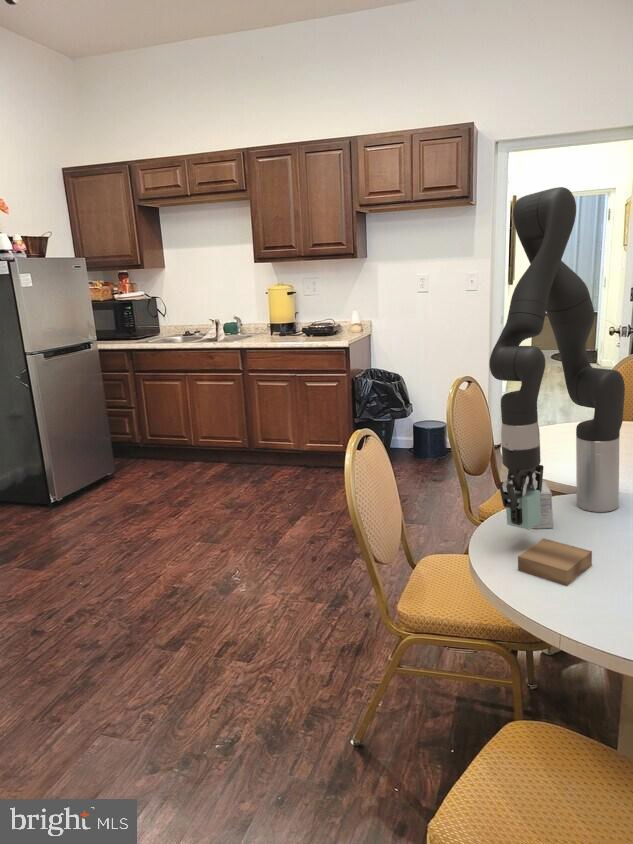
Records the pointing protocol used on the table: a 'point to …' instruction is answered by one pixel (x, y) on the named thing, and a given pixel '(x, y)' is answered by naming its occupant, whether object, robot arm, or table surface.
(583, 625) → the table surface
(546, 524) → the medicine box
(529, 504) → the teal block
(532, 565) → the walnut base
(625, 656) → the table surface
